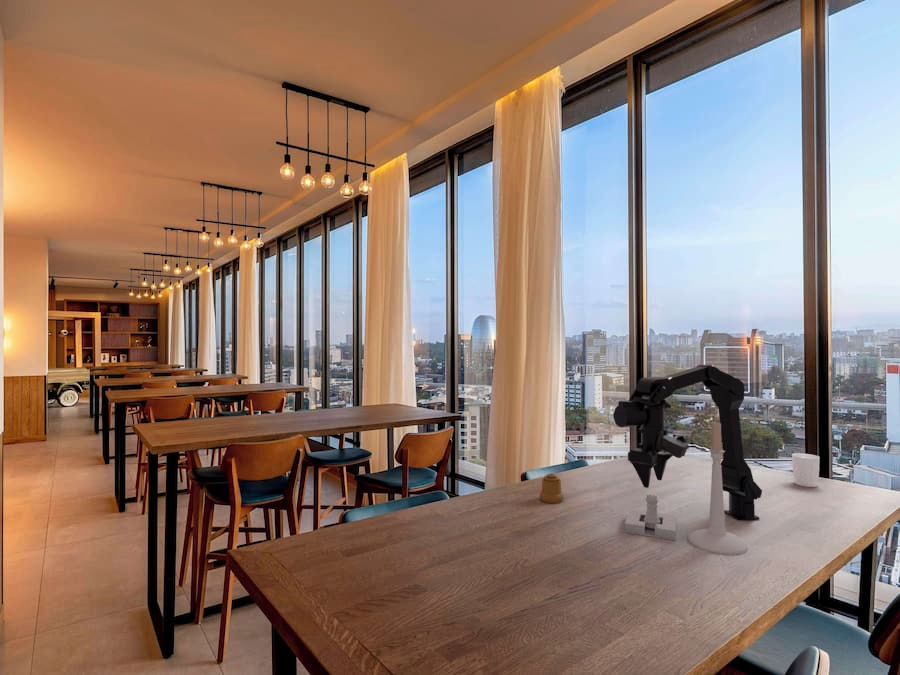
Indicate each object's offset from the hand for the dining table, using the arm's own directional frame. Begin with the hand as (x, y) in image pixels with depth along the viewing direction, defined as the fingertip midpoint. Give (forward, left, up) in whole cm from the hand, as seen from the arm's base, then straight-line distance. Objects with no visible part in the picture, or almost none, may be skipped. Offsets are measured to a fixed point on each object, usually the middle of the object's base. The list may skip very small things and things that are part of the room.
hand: (653, 483), depth 130 cm
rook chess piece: (0, 0, -12) cm, 12 cm away
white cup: (-35, +72, -12) cm, 81 cm away
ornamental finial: (-25, -21, -12) cm, 35 cm away
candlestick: (+11, +11, -12) cm, 19 cm away
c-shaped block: (0, -1, -12) cm, 12 cm away
